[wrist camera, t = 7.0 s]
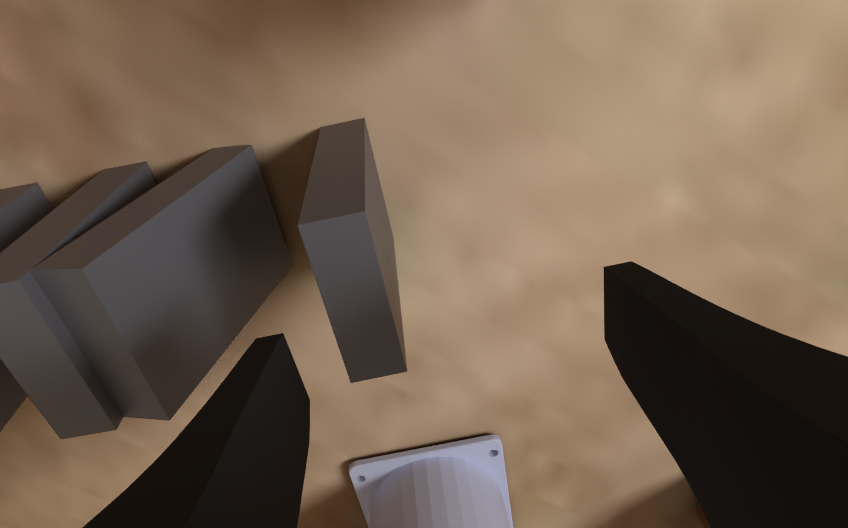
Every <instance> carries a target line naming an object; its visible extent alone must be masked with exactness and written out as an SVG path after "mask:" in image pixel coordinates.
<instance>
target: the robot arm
mask: <svg viewBox="0 0 848 528" xmlns="http://www.w3.org/2000/svg"><path fill="white" fill-rule="evenodd" d="M604 331H605V341H606V344H607V346H608V348H609V350H610V353H611V355H612V357H613V359H614V361H615V363H616V366H617V368H618V370H619V372H620V374H621V376H622V378H623V379H624V381H625V383H626V384H627V386H628V388H629V389H630V391H631V392H632V394H633V395H634V397H635V399H636V400H637V402H638V403H639V405H640V406H641V408H642V410H643V411H644V413H645V414H646V416H647V417H648V419H649V420H650V422H651V423H652V425H653V427H654V428H655V430H656V431H657V433H658V434H659V436H660V437H661V439H662V441H663V442H664V444H665V445H666V447H667V448H668V450H669V451H670V453H671V454H672V456H673V458H674V459H675V461H676V462H677V464H678V466H679V467H680V469H681V471H682V473H683V474H684V476H685V478H686V479H687V481H688V483H689V485H690V487H691V489H692V491H693V493H694V495H695V497H696V499H697V501H698V503H699V505H700V507H701V509H702V511H703V513H704V515H705V517H706V519H707V521H708V522H709V524H710V527H711V528H848V357H847V356H844V355H841V354H838V353H835V352H831V351H828V350H825V349H822V348H819V347H816V346H814V345H811V344H808V343H805V342H803V341H800V340H797V339H794V338H792V337H789V336H786V335H784V334H781V333H778V332H776V331H773V330H771V329H768V328H766V327H764V326H761V325H759V324H757V323H754V322H752V321H750V320H748V319H745V318H743V317H741V316H739V315H736V314H734V313H732V312H730V311H728V310H726V309H723V308H721V307H719V306H717V305H715V304H713V303H711V302H709V301H707V300H705V299H703V298H701V297H699V296H697V295H695V294H693V293H691V292H689V291H687V290H685V289H684V288H682V287H680V286H678V285H676V284H674V283H672V282H670V281H668V280H667V279H665V278H663V277H661V276H659V275H657V274H655V273H653V272H652V271H650V270H648V269H646V268H644V267H642V266H640V265H638V264H636V263H634V262H626V263H621V264H616V265H611V266H607V267H604ZM309 433H310V399H309V397H308V394H307V392H306V389H305V387H304V384H303V382H302V379H301V377H300V374H299V372H298V369H297V367H296V364H295V362H294V359H293V357H292V354H291V352H290V349H289V347H288V344H287V342H286V339H285V337H284V334H283V333H281V334H276V335H271V336H266V337H262V338H257V339H255V341H254V342H253V343H252V344H251V345H250V347H249V348H248V349H247V351H246V352H245V353H244V355H243V356H242V357H241V358H240V360H239V361H238V362H237V364H236V365H235V366H234V368H233V369H232V370H231V372H230V373H229V374H228V376H227V377H226V378H225V380H224V381H223V382H222V383H221V385H220V386H219V387H218V389H217V390H216V391H215V392H214V394H213V395H212V396H211V397H210V399H209V400H208V401H207V403H206V404H205V405H204V406H203V407H202V409H201V410H200V411H199V412H198V413H197V414H196V416H195V417H194V418H193V419H192V420H191V421H190V423H189V424H188V425H187V426H186V427H185V428H184V430H183V431H182V432H181V433H180V434H179V435H178V437H177V438H176V439H175V440H174V441H173V442H172V443H171V445H170V446H169V447H168V448H167V449H166V450H165V451H164V452H163V453H162V454H161V455H160V456H159V457H158V458H157V459H156V460H155V462H154V463H153V464H152V465H151V466H150V467H149V468H148V469H146V470H145V471H144V472H143V473H142V474H141V475H140V476H139V477H138V478H137V479H136V480H135V481H134V482H133V483H132V484H131V485H130V486H129V487H128V488H127V489H126V490H125V491H124V492H123V493H121V494H120V495H119V496H118V497H117V498H116V499H115V500H114V501H112V502H111V503H110V504H109V505H108V506H107V507H106V508H104V509H103V510H102V511H101V512H100V513H99V514H98V515H96V516H95V517H94V518H93V519H92V520H91V521H90V522H88V523H87V524H86V525H85V526H84V527H83V528H297V524H298V517H299V511H300V504H301V497H302V490H303V483H304V477H305V470H306V462H307V455H308V448H309ZM491 450H493V451H491ZM349 475H350V478H351V481H352V484H353V486H354V489H355V492H356V495H357V497H358V500H359V503H360V506H361V508H362V511H363V514H364V517H365V519H366V522H367V525H368V528H513V523H512V515H511V508H510V501H509V493H508V486H507V478H506V471H505V464H504V456H503V449H502V443H501V439H500V437H499V436H497V435H486V436H481V437H476V438H471V439H466V440H460V441H455V442H450V443H445V444H440V445H435V446H429V447H424V448H419V449H414V450H409V451H404V452H398V453H393V454H388V455H383V456H378V457H373V458H368V459H362V460H357V461H354V462H352V463H351V464H350V465H349Z"/></svg>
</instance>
